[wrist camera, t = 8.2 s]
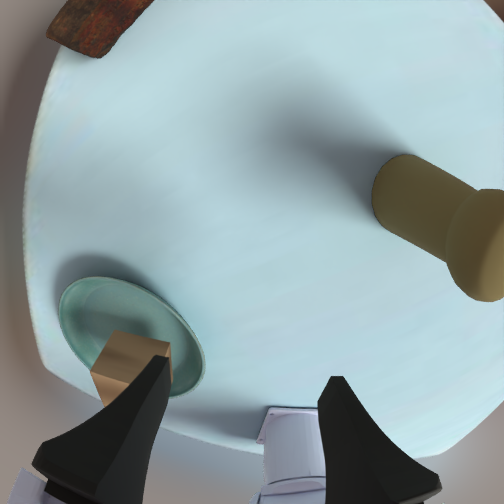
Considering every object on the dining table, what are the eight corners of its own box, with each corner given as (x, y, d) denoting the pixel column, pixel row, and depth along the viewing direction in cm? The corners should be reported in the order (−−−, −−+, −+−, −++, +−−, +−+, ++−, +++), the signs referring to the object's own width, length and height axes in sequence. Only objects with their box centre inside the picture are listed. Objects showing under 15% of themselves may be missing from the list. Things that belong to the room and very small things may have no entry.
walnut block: (172, 380, 22) (160, 423, 18) (123, 367, 22) (104, 407, 18) (170, 342, 20) (153, 390, 16) (114, 329, 20) (89, 371, 16)
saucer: (52, 262, 21) (36, 275, 19) (196, 259, 20) (188, 276, 18) (100, 372, 27) (92, 388, 25) (219, 386, 26) (216, 406, 24)
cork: (376, 147, 16) (494, 176, 6) (444, 162, 16) (557, 204, 6) (365, 231, 19) (447, 329, 8) (430, 237, 18) (519, 317, 8)
